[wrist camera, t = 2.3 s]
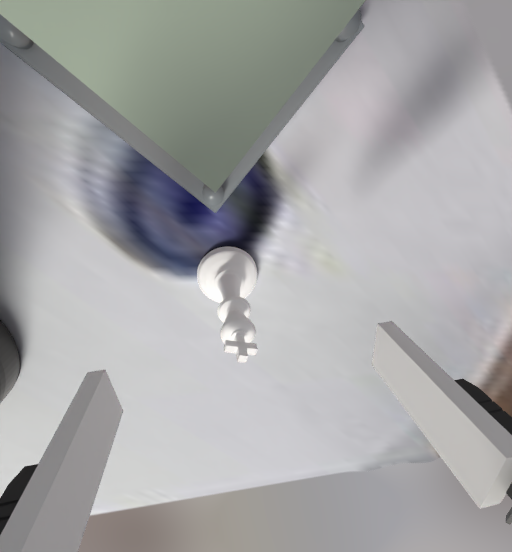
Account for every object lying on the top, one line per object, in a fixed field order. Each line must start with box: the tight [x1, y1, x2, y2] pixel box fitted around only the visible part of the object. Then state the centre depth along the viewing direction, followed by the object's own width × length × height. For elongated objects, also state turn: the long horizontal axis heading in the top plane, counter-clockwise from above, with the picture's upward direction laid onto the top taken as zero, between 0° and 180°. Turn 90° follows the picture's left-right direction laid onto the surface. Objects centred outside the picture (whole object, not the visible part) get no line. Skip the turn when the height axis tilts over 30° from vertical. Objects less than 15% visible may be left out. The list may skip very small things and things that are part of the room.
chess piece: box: [197, 246, 258, 363], centre depth 18 cm, size 5×5×10 cm
